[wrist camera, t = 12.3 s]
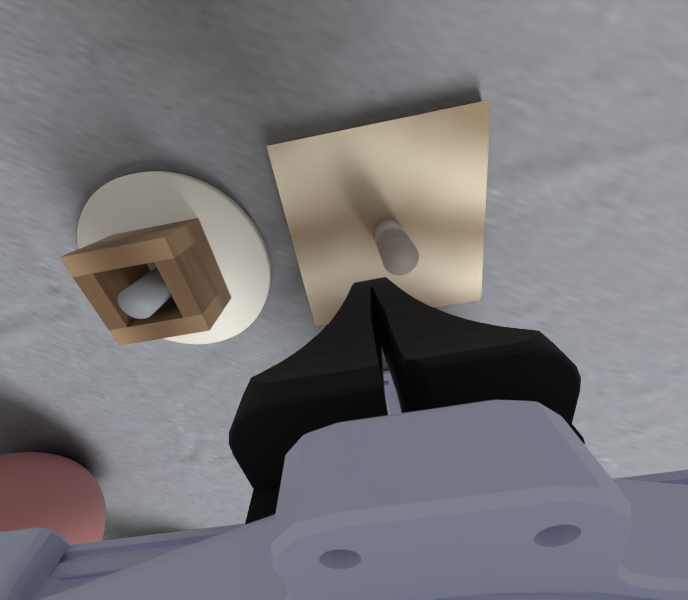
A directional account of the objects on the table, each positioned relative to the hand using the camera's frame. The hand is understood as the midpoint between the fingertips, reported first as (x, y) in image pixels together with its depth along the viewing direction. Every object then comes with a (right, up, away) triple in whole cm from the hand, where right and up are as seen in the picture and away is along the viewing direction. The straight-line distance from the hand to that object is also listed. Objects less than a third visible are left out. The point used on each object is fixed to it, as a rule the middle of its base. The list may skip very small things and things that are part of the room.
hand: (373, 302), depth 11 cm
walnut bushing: (-12, +2, +8) cm, 15 cm away
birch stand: (+2, +5, +8) cm, 9 cm away
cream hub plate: (-12, +3, +9) cm, 15 cm away
